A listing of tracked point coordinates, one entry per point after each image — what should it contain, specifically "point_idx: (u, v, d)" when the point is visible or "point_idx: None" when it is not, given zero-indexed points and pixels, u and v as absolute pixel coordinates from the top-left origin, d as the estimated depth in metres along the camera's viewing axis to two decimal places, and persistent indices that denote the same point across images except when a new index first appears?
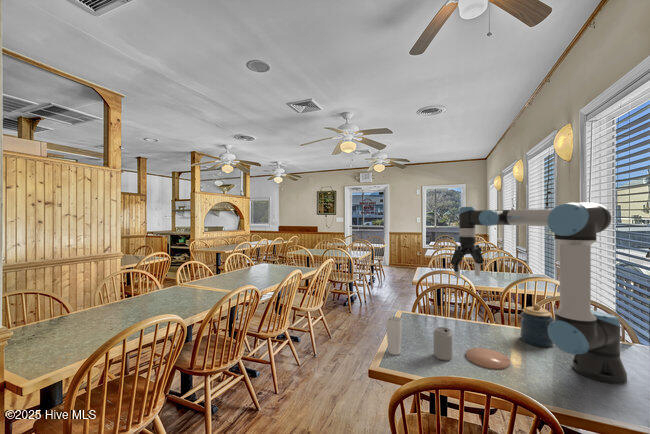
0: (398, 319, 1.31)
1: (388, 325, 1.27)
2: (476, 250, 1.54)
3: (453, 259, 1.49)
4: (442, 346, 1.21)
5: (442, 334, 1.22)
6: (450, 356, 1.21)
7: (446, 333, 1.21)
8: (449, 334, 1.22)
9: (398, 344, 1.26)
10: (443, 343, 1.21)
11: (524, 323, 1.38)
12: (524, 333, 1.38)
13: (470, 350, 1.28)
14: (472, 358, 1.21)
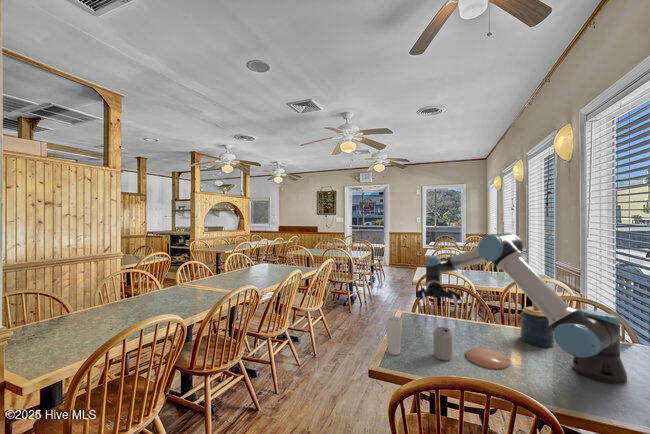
0: (398, 319, 1.31)
1: (388, 325, 1.27)
2: (449, 293, 1.45)
3: None
4: (442, 346, 1.21)
5: (442, 334, 1.22)
6: (450, 356, 1.21)
7: (446, 333, 1.21)
8: (449, 334, 1.22)
9: (398, 344, 1.26)
10: (443, 343, 1.21)
11: (524, 323, 1.38)
12: (524, 333, 1.38)
13: (470, 350, 1.28)
14: (472, 358, 1.21)
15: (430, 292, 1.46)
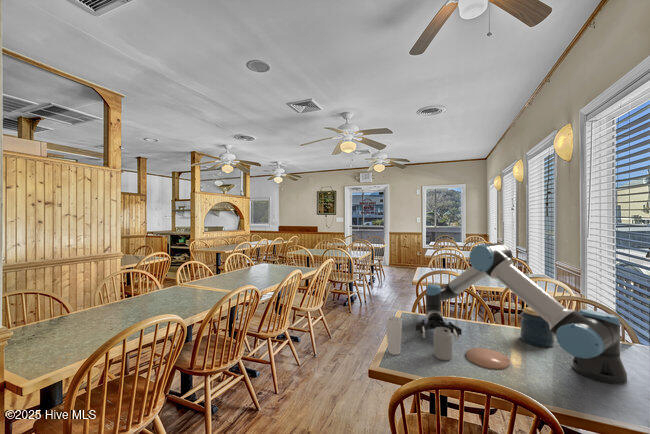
0: (398, 319, 1.31)
1: (388, 325, 1.27)
2: (450, 326, 1.42)
3: None
4: (442, 346, 1.21)
5: (442, 334, 1.22)
6: (450, 356, 1.21)
7: (446, 333, 1.21)
8: (449, 334, 1.22)
9: (398, 344, 1.26)
10: (443, 343, 1.21)
11: (524, 323, 1.38)
12: (524, 333, 1.38)
13: (470, 350, 1.28)
14: (472, 358, 1.21)
15: (430, 325, 1.43)
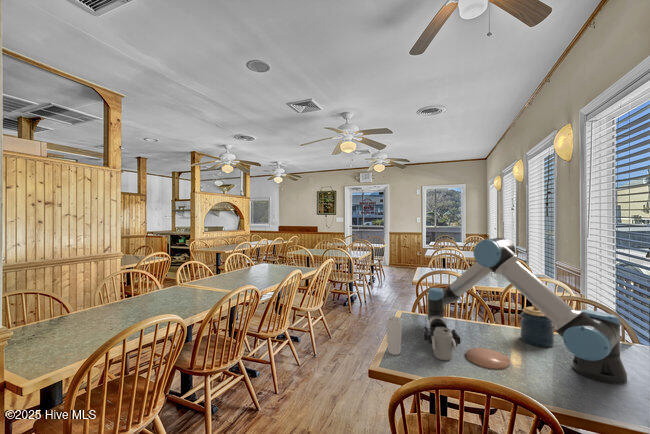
0: (398, 319, 1.31)
1: (388, 325, 1.27)
2: (452, 333, 1.32)
3: None
4: (442, 346, 1.21)
5: (442, 334, 1.22)
6: (450, 356, 1.21)
7: (446, 333, 1.21)
8: (449, 334, 1.22)
9: (398, 344, 1.26)
10: (443, 343, 1.21)
11: (524, 323, 1.38)
12: (524, 333, 1.38)
13: (470, 350, 1.28)
14: (472, 358, 1.21)
15: None
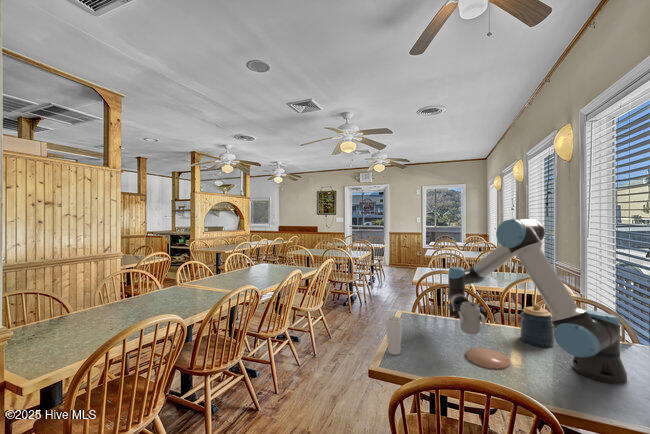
0: (398, 319, 1.31)
1: (388, 325, 1.27)
2: None
3: None
4: (470, 319, 1.20)
5: (470, 308, 1.21)
6: (478, 330, 1.21)
7: (474, 306, 1.21)
8: (477, 308, 1.21)
9: (398, 344, 1.26)
10: (472, 317, 1.20)
11: (524, 323, 1.38)
12: (524, 333, 1.38)
13: (470, 350, 1.28)
14: (472, 358, 1.21)
15: None
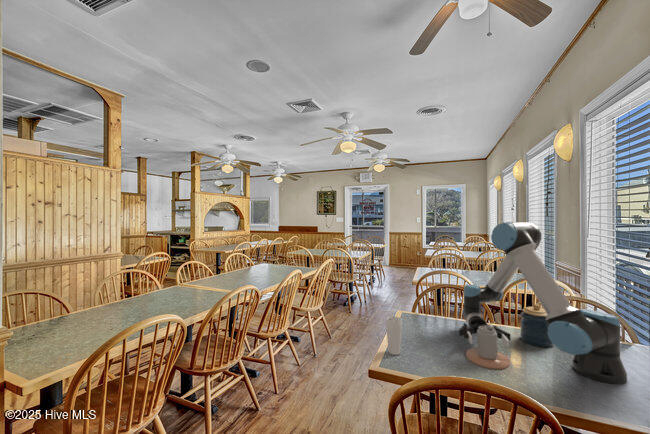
0: (398, 319, 1.31)
1: (388, 325, 1.27)
2: (495, 330, 1.31)
3: None
4: (487, 345, 1.19)
5: (487, 333, 1.20)
6: (495, 355, 1.19)
7: (491, 331, 1.19)
8: (494, 333, 1.20)
9: (398, 344, 1.26)
10: (489, 342, 1.19)
11: (524, 323, 1.38)
12: (524, 333, 1.38)
13: (470, 350, 1.28)
14: (472, 358, 1.21)
15: (474, 329, 1.31)
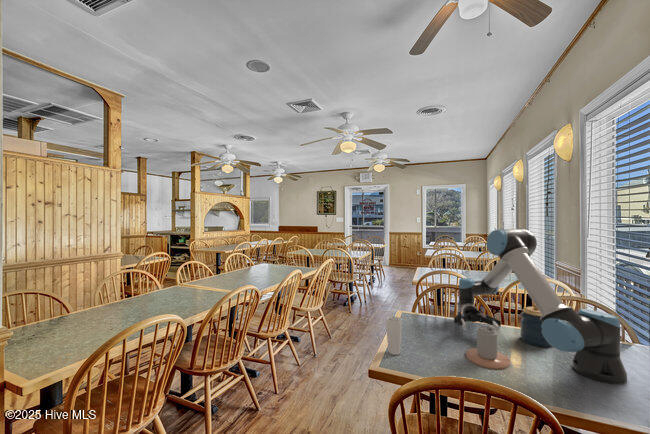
0: (398, 319, 1.31)
1: (388, 325, 1.27)
2: (487, 318, 1.43)
3: None
4: (488, 345, 1.19)
5: (487, 333, 1.20)
6: (495, 355, 1.19)
7: (491, 332, 1.19)
8: (494, 333, 1.20)
9: (398, 344, 1.26)
10: (489, 342, 1.19)
11: (524, 323, 1.38)
12: (524, 333, 1.38)
13: (470, 350, 1.28)
14: (472, 358, 1.21)
15: (468, 317, 1.44)
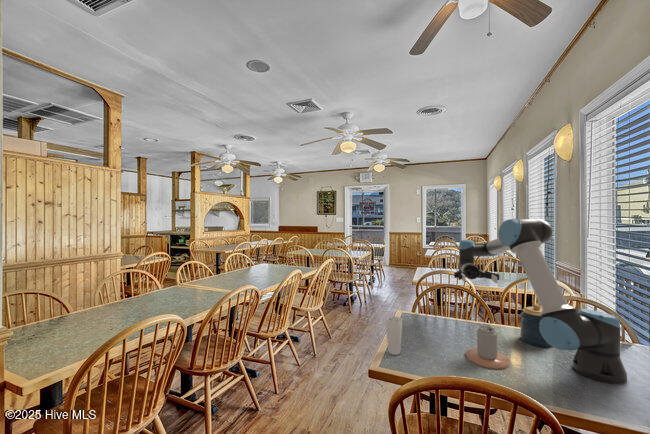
0: (398, 319, 1.31)
1: (388, 325, 1.27)
2: None
3: None
4: (488, 345, 1.19)
5: (487, 333, 1.20)
6: (495, 355, 1.19)
7: (491, 332, 1.19)
8: (494, 333, 1.20)
9: (398, 344, 1.26)
10: (489, 342, 1.19)
11: (524, 323, 1.38)
12: (524, 333, 1.38)
13: (470, 350, 1.28)
14: (472, 358, 1.21)
15: (468, 273, 1.49)
